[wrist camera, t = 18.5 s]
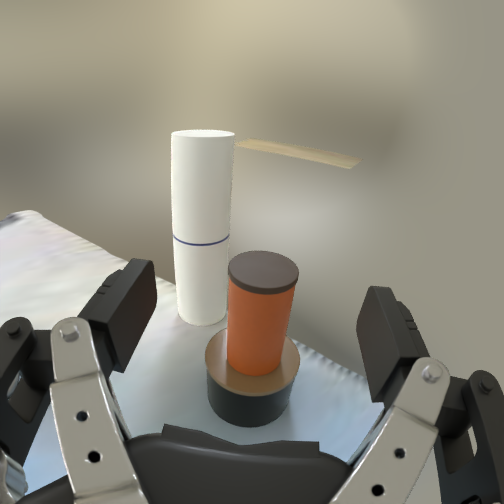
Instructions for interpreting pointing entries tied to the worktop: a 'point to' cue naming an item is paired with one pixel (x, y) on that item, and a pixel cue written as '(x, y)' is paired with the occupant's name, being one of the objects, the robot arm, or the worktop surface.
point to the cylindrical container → (201, 221)
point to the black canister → (248, 385)
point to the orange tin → (258, 310)
